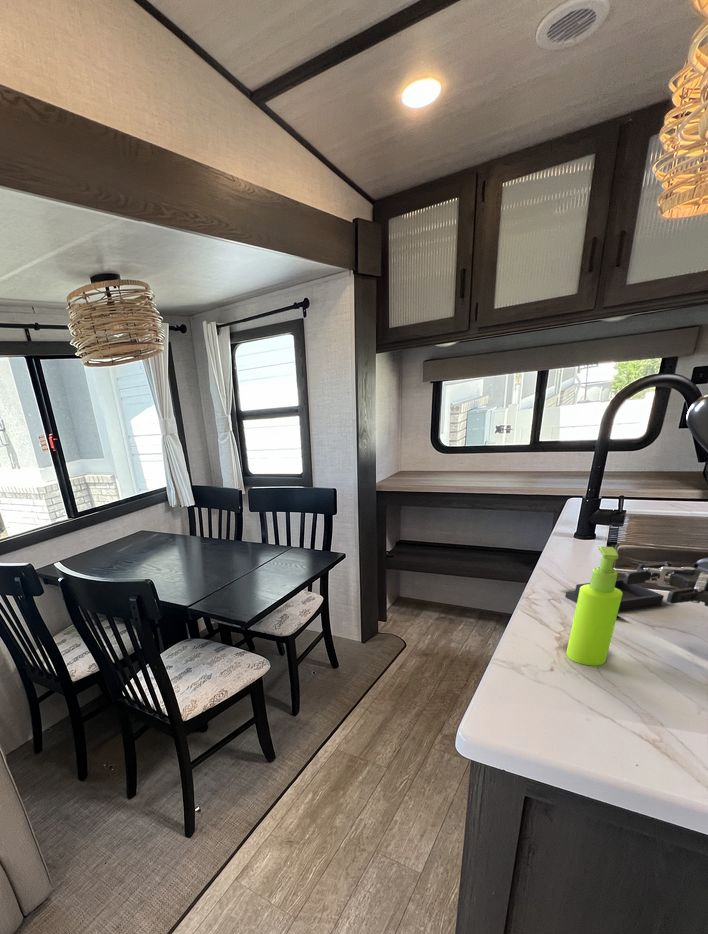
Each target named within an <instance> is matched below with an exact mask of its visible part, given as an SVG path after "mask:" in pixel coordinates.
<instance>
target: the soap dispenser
mask: <svg viewBox="0 0 708 934" xmlns="http://www.w3.org/2000/svg"><path fill="white" fill-rule="evenodd" d="M597 550H598V551H599V553H600V554H601V556H602V557H601V561H600V566H598V567H595V568H593V570H592V574H591V577H590V582H589V583H590V584H586V585H583V586H581V587H580V591H579V596H578V600H577V603H576V605H575V610H574V615H573V620H572V623H571V624H572V625H571V629H570V634H569V638H568V643H567V647H566V657H567V658H568V659H570V660H571V661H573V662H575V663H577V664H581V665H585V666H591V667H592V666H601V665H603V664H605V663H606V661H607V656H608V652H609V649H610V645H611V642H612V637H613V634H614V629H615V626H616V621H617V619H618V618H617V615H618V614H619V613H618V610H619V606H620V602H621V598H622V594H623V593H622V591H621V590H619V589H617V588H615V583H616V579H618V574H619V572H618V570H616V569H614V564H615V561H616V560H618V559H619V553H618V551H617V550H616V548H615V547H613V546H597Z"/></svg>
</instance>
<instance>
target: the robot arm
mask: <svg viewBox="0 0 708 934" xmlns="http://www.w3.org/2000/svg"><path fill="white" fill-rule="evenodd" d="M686 413H687V414H686V425H687V427H688V430H689V432H690V434H691V435H692V437H694V439H695V440H696V441H697V442H698V444H699V445H700V446H701V447H702V448H703V449H704V451H706V452H707V453H708V393H706V394H704V395H702V396H700V397H699V398H698V399H696V400H695V401H694V402H693V403H692V404H691V405H690V407H689V409H688V411H687V412H686ZM672 565H673V562H672V561H668V560H667V561H657V562H649V563H647V562H646V563H639V564H638V567H637V570H634V571H628V572H626V573H625V574H624V578H623V579H624V583H625V584H628V585H630V584H637V585H639V584H646V583H647V584H648V583H649V584H656V585H657V586H658V587H664V588H675V589H671V590H670V591H668V594H667V598H666V603H668V604H670V605H671V604H672V605H675V604H682V603H689V602H690V603H693V604H700V603H704V604H703V605H704V606H705V607H708V557H705V558H701V559H699V560H697V561H696V562H694V563H693V564H692V565H691V566H682V567H675V566H672ZM668 576H669V579H668V581H665V579H666V577H668Z"/></svg>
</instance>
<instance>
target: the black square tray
mask: <svg viewBox="0 0 708 934" xmlns="http://www.w3.org/2000/svg"><path fill="white" fill-rule="evenodd" d="M624 579H625V578H623V577H622V578H617V579H616V583H615V588H617V589H619V590H621V591H622V593H623V594H622V598H621V602H620V606H619V610H618V614H619V613H624V612H625V613H626V612H632V611H633V612H634V611H639V610H648V609H654V608H661V607H662V608H663V607H668V606H670V603H668V602H665V601H663V600H664V597H665V596H664V594H661V593H658V592H655V591H654V590H651V589H649V588H647V587H645V586H641V585H639V584H630V585H628V584H625V583H624ZM586 584H590V582H586V583H585V582H584V583H578V584H576V585H575V590H572V591H566V592H565V596H564V597H565V598H567V599H569V600H570V601H572V602H574V603H576V604H577V600H578V596H579V591H580V587H581V586H583V585H586ZM618 614H617V618H616V619H618V618H621V616H620V615H618Z"/></svg>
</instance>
